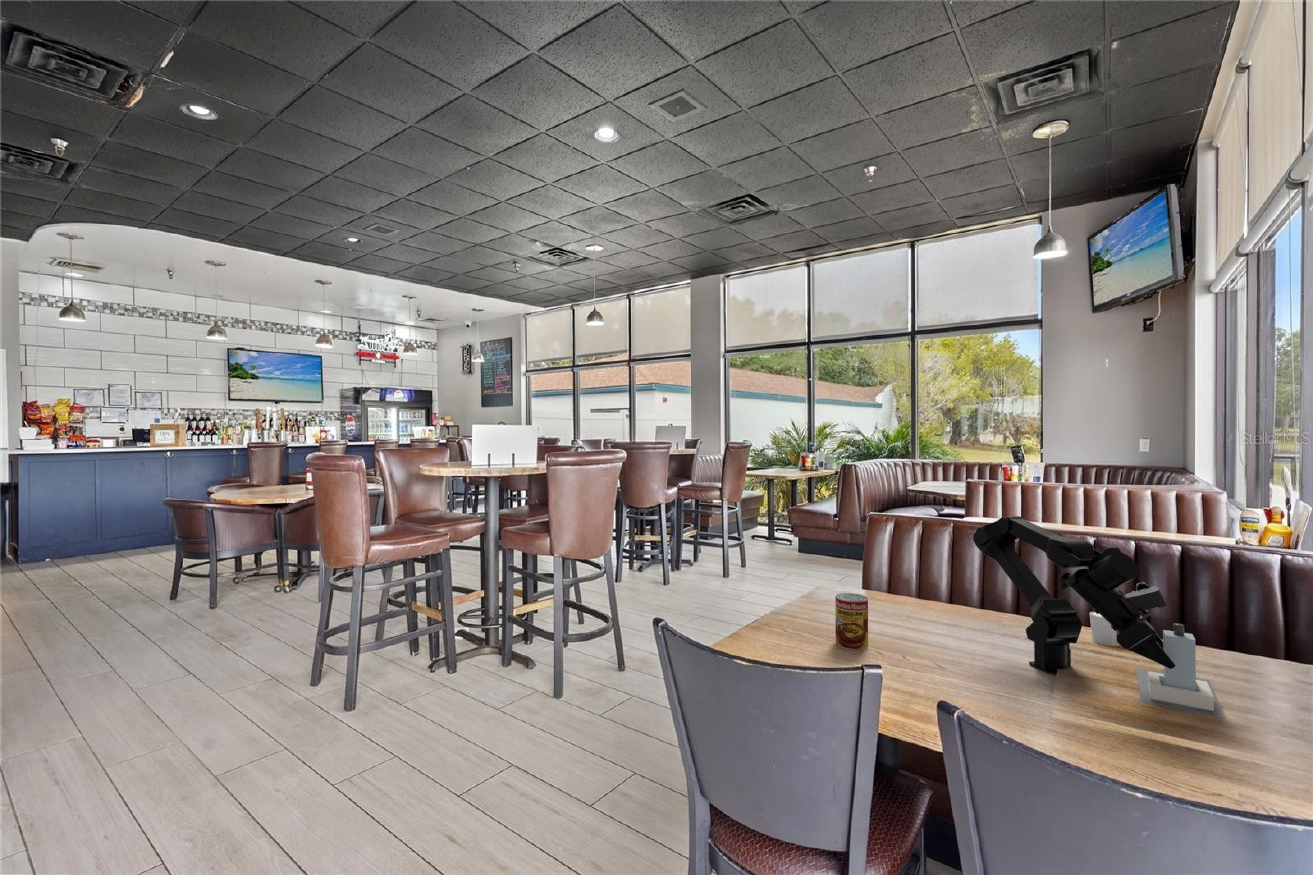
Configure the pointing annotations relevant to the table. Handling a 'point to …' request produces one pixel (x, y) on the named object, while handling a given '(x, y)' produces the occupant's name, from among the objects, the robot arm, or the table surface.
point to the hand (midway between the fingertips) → (1170, 660)
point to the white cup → (1102, 630)
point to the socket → (1181, 694)
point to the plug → (1180, 658)
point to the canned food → (851, 621)
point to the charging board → (1145, 698)
